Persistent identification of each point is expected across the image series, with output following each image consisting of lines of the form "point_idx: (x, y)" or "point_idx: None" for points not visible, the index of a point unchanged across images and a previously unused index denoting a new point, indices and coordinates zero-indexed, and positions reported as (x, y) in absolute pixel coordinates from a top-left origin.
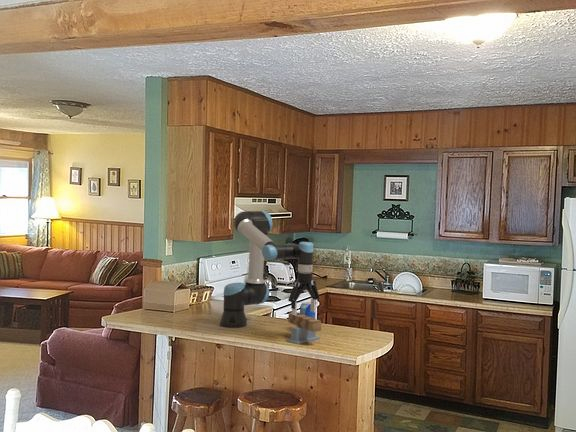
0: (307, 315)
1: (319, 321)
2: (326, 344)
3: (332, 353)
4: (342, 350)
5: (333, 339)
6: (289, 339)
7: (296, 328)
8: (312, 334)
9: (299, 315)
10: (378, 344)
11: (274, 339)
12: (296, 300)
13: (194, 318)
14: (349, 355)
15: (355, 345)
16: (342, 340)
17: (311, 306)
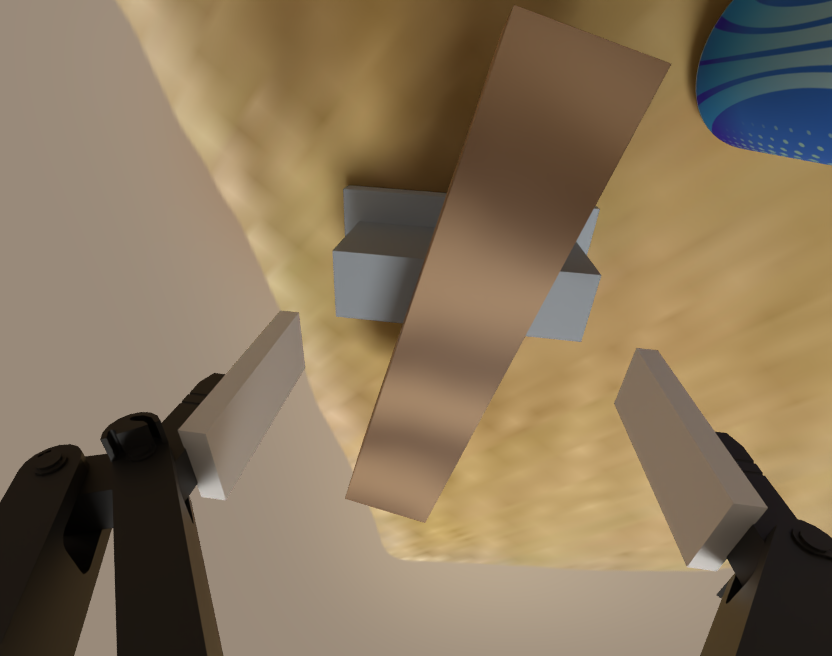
0: (821, 131)
1: (409, 515)
2: None
3: None
4: (441, 496)
5: (626, 371)
6: (345, 218)
7: (345, 305)
8: None
9: (473, 270)
10: (665, 550)
11: (303, 67)
12: (195, 530)
13: None
14: (398, 537)
15: (571, 498)
16: None
17: (657, 411)
